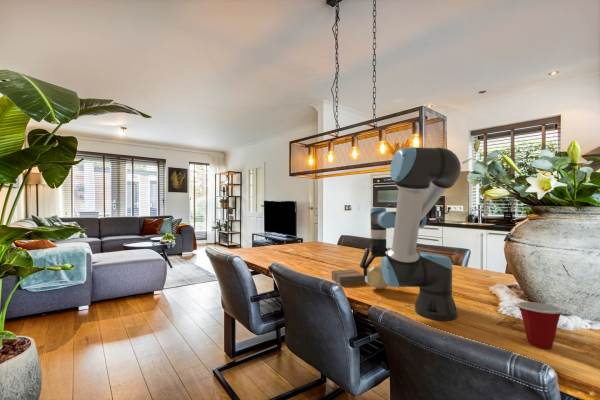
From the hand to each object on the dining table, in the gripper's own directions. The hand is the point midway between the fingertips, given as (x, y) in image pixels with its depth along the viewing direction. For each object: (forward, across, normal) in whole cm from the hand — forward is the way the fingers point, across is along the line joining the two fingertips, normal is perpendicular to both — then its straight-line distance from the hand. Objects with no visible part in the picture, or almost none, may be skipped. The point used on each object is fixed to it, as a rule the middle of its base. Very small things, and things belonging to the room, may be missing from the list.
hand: (378, 281), depth 141 cm
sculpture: (+3, 0, 0) cm, 3 cm away
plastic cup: (+6, -23, +59) cm, 64 cm away
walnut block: (+4, +10, -17) cm, 20 cm away
